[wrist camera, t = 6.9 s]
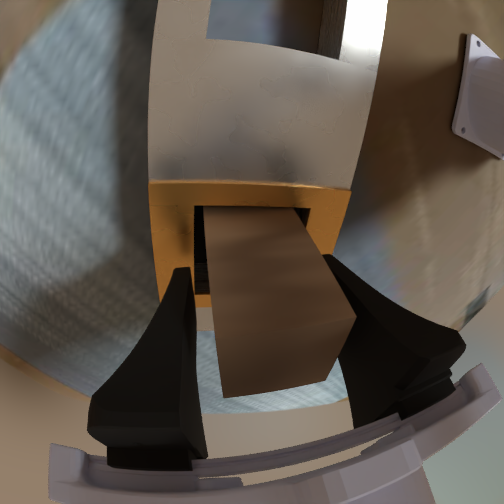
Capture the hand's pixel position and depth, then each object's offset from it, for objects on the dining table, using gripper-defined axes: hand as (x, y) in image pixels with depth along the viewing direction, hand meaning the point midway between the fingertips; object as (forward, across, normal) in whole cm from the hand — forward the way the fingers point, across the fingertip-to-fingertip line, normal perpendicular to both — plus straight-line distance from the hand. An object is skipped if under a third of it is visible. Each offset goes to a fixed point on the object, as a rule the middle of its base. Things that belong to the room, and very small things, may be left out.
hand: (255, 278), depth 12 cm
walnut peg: (+4, 0, 0) cm, 4 cm away
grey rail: (+4, 0, -6) cm, 7 cm away
